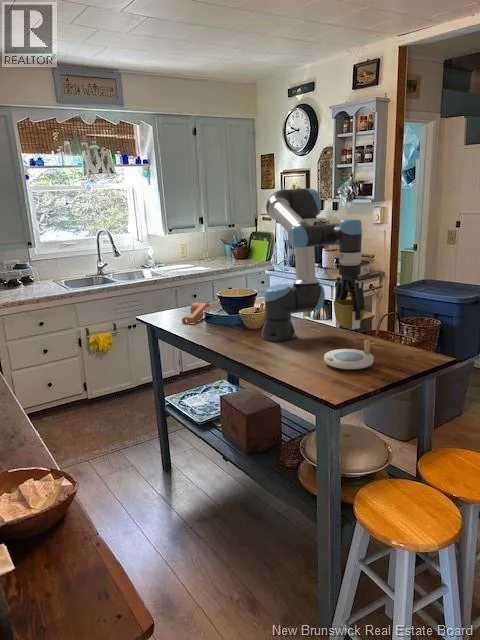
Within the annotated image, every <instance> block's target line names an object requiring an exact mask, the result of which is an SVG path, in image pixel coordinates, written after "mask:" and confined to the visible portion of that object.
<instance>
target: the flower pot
mask: <svg viewBox="0 0 480 640" xmlns="http://www.w3.org/2000/svg"><path fill="white" fill-rule="evenodd" d="M364 305H365V306H366V302H364ZM333 309H334V316H335V318H336V320H337V322H338V325H339V326H341V327H343V328H344V329H345V328H346V329H349V328H352V310H354V308H353V303H352V299H351V298H349V299H347V298H346V300H337V301H335V300H333ZM364 315H365V310H361V314H360V324H361V323H362V321H363V319H364Z"/></svg>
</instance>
